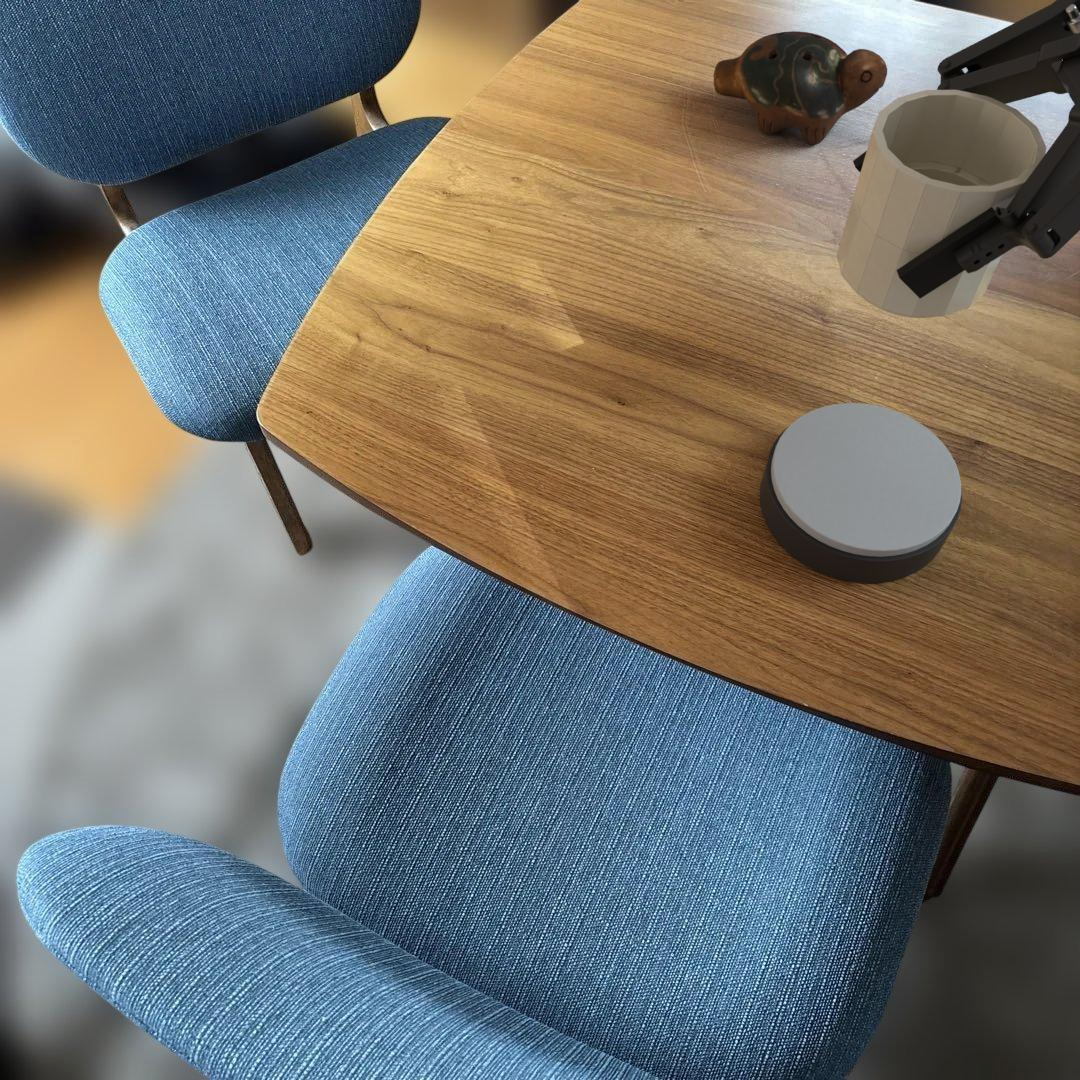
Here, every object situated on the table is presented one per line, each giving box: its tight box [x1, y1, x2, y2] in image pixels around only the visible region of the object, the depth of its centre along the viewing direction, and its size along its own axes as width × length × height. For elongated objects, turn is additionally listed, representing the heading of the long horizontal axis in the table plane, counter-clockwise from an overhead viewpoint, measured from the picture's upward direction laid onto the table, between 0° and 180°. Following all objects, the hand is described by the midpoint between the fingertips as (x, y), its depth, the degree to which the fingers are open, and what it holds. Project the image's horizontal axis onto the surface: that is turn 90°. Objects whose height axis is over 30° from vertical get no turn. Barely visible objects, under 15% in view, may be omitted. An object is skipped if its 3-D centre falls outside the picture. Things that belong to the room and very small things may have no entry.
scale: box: [759, 402, 963, 584], centre depth 70 cm, size 13×13×4 cm
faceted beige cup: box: [836, 89, 1048, 319], centre depth 69 cm, size 10×10×11 cm
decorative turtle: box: [713, 30, 888, 146], centre depth 93 cm, size 10×15×8 cm, turn 74°
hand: (885, 227), depth 70 cm, fingers closed on faceted beige cup, 11 cm apart
